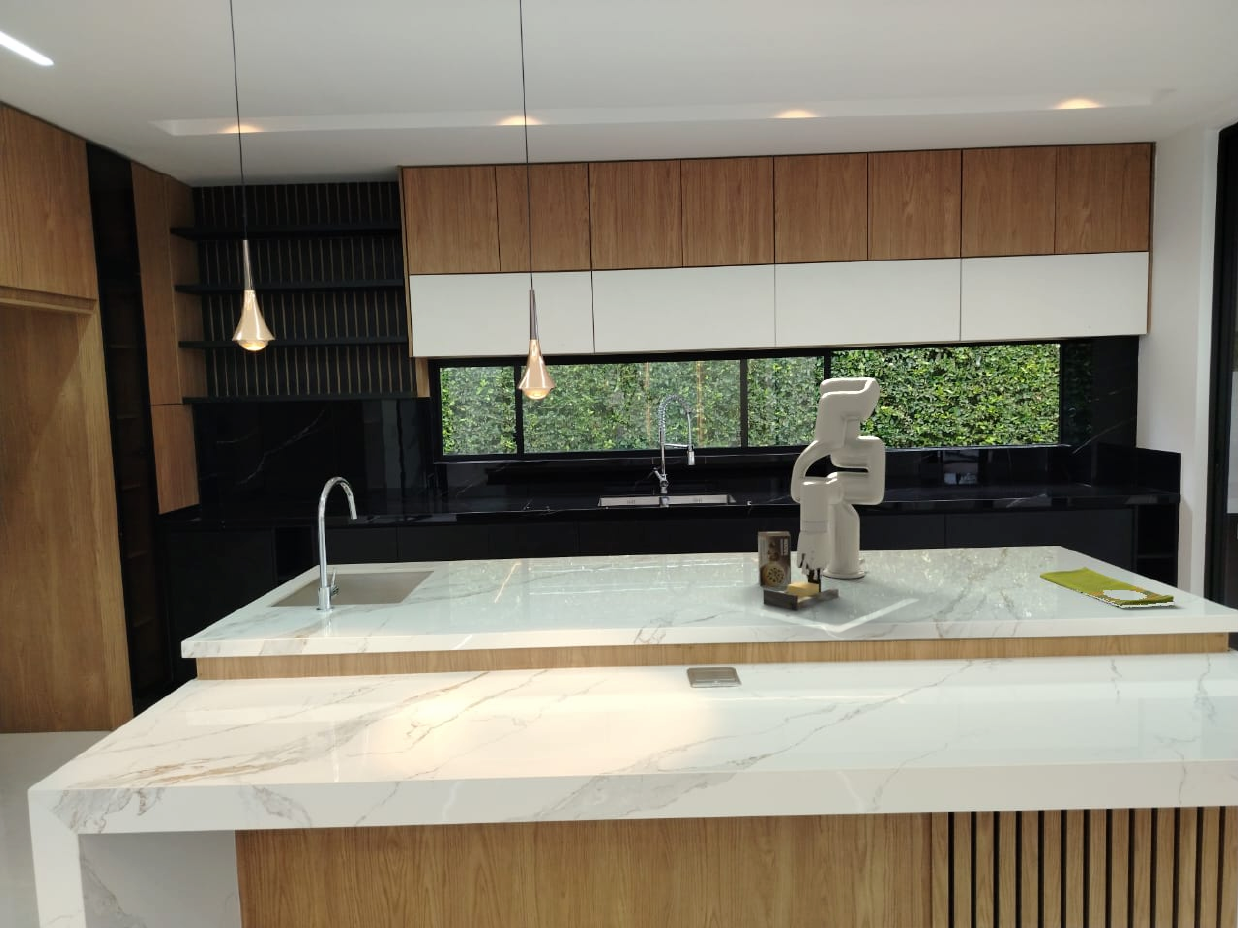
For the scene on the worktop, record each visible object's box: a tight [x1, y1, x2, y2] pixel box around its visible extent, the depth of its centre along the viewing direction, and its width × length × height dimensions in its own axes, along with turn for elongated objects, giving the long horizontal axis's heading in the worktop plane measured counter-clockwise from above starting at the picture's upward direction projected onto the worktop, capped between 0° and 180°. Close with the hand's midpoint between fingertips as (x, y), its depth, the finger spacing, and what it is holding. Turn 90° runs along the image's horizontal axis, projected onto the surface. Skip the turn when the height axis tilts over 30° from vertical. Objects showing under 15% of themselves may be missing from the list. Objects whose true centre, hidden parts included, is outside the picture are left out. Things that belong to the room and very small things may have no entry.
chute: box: [763, 587, 839, 612], centre depth 231 cm, size 20×14×5 cm
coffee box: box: [757, 531, 792, 587], centre depth 249 cm, size 9×6×16 cm
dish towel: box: [1039, 566, 1175, 606], centre depth 239 cm, size 15×36×3 cm, turn 7°
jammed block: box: [786, 580, 819, 599], centre depth 232 cm, size 6×6×4 cm
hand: (814, 592), depth 235 cm, fingers closed
